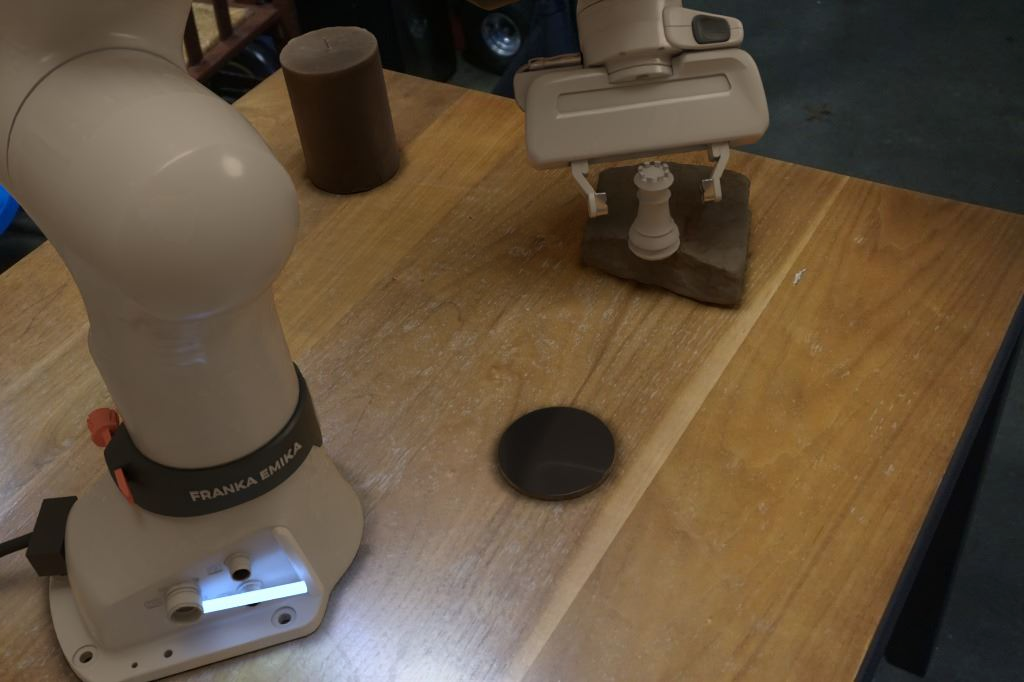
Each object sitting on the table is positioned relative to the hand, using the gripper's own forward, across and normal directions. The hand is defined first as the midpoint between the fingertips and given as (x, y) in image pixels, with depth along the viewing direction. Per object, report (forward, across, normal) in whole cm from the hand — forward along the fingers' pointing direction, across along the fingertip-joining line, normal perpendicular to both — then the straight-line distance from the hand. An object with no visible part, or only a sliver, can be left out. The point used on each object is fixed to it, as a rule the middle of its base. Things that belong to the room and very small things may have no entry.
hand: (655, 209), depth 91 cm
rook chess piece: (+3, 0, +4) cm, 5 cm away
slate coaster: (+19, -11, -6) cm, 23 cm away
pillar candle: (-12, -27, +24) cm, 38 cm away
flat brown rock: (+2, +2, +10) cm, 11 cm away
